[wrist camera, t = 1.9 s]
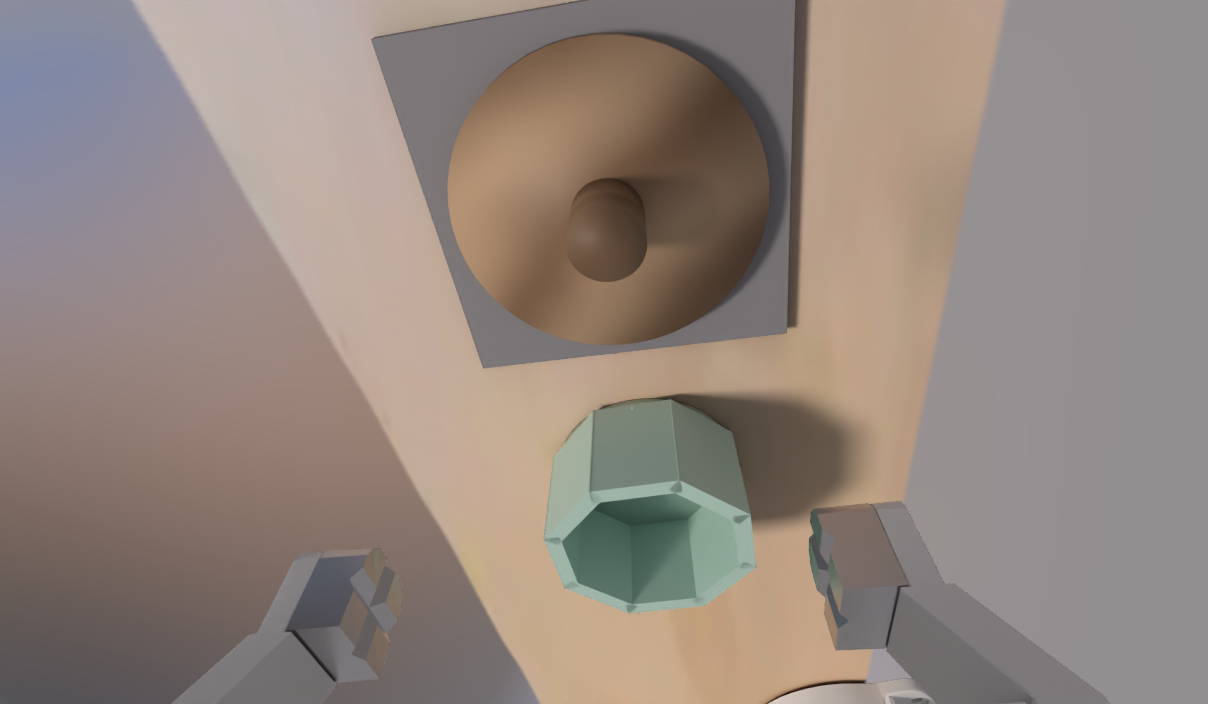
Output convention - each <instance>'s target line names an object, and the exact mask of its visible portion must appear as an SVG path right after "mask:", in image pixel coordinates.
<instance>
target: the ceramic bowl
mask: <svg viewBox="0 0 1208 704" xmlns="http://www.w3.org/2000/svg"><path fill="white" fill-rule="evenodd" d="M544 541H545V543H546V545H547V548H548V550H549V553H550V555H551V557H552V560H553V562H554V564H555V567H556V569H557V572H558V574H559V576H560V579H561V581H562V583H563V586H564V588H565V589H568V590H571V591H573V592H576V593H578V594H581V595H583V596H586V597H589V598H591V599H594V600H596V601H599V602H601V603H604V604H607V605H609V606H612V607H614V608H617V609H619V610H622V611H625V612H627V613H636V612H646V611H656V610H666V609H677V608H687V607H697V606H705V605H706V604H708V603H709V602H710V601H712V600H713V599H714V598H716V597H717V596H718V595H720V594H721V593H722V592H724V591H725V590H727V589H728V588H729V587H731V586H732V585H733V584H735V583H736V582H737V581H739V580H740V579H741V578H743V577H744V576H745V575H747V574H748V573H750V572H751V571H752V570H754V569H755V568H756V562H755V553H754V543H753V533H752V524H751V512H750V508H749V503H748V499H747V495H746V490H745V486H744V481H743V477H742V472H741V468H740V464H739V459H738V455H737V450H736V446H735V441H734V437H733V433H732V432H731V431H729V430H727V429H725V428H724V427H722V426H720V425H719V424H718V423H717V422H716V421H715V420H714V419H712V418H711V417H710V416H708V415H707V414H705V413H704V412H702V411H700V410H698V409H696V408H694V407H691V406H689V405H686V404H682V403H679V402H675V401H673V400H671V399H669V400H662V399H637V400H629V401H624V402H619V403H616V404H613V405H610V406H607V407H605V408H602V409H600V410H593V411H592V413H591V414H590V415H589V416H588V417H586V418H585V419H584V420H583V421H581V422H580V423H579V424H578V425H577V426H576V427H575V428H574V429H573V430H572V432H571V433H570V435H569V436H568V438H567V440H566V442H565V443H564V445H563V446H562V448H561V449H560V450H559V451H558V452H557V453H556V455H555V456H554V457H553V466H552V474H551V482H550V490H549V499H548V507H547V515H546V523H545V532H544Z"/></svg>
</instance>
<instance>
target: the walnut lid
mask: <svg viewBox="0 0 1208 704" xmlns="http://www.w3.org/2000/svg"><path fill="white" fill-rule="evenodd" d="M447 188H448V207H449V213H450V219H451V225H452V228H453V231H454V234H455V238H456V241H457V244H458V246H459V248H460V250H461V253H462V255H463V257H464V259H465V261H466V263H467V264H468V266H469V268H470V269H471V271H472V273H473V274H474V276H475V277H476V279H477V280H478V281H479V282H480V284H481V285H482V286H483V287H484V289H485V290H486V291H487V292H488V293H489V294H490V295H491V296H492V297H493V298H494V299H495V300H496V301H497V302H498V303H499V304H500V305H501V306H503V307H504V308H505V309H506V310H508V311H509V312H510V313H512V314H513V315H514V316H516V317H517V318H519V319H520V320H522V321H524V322H525V323H527V324H529V325H530V326H532V327H534V328H537V329H539V330H541V331H543V332H545V333H547V334H550V335H553V336H556V337H559V338H562V339H566V340H570V341H575V342H579V343H586V344H595V345H623V344H632V343H639V342H643V341H648V340H653V339H656V338H659V337H662V336H665V335H668V334H671V333H673V332H675V331H677V330H679V329H682V328H684V327H686V326H688V325H690V324H691V323H693V322H694V321H696V320H698V319H699V318H701V317H703V316H704V315H705V314H707V313H708V312H709V311H710V310H712V309H713V308H714V307H715V306H717V305H718V304H719V303H720V302H721V301H722V300H723V299H724V298H725V297H726V296H727V295H728V294H729V293H730V292H731V291H732V290H733V288H734V287H735V286H736V285H737V283H738V282H739V281H740V280H741V278H742V277H743V275H744V274H745V272H746V271H747V269H748V267H749V266H750V264H751V262H752V261H753V258H754V256H755V254H756V252H757V249H758V247H759V245H760V243H761V239H762V236H763V232H764V229H765V226H766V221H767V215H768V208H769V175H768V167H767V161H766V157H765V153H764V150H763V146H762V143H761V140H760V137H759V135H758V133H757V131H756V128H755V126H754V124H753V121H752V120H751V118H750V116H749V115H748V113H747V112H746V110H745V108H744V107H743V105H742V104H741V102H740V101H739V99H738V98H737V96H736V95H735V94H734V93H733V92H732V90H731V89H730V88H729V87H728V86H727V85H726V83H725V82H724V81H723V80H722V79H721V78H720V77H719V76H718V75H716V74H715V73H714V72H713V71H712V70H711V69H710V68H708V67H707V66H706V65H705V64H703V63H702V62H700V61H699V60H697V59H696V58H694V57H693V56H691V55H690V54H688V53H686V52H685V51H682V50H680V49H678V48H676V47H674V46H671V45H669V44H667V43H665V42H661V41H658V40H655V39H651V38H648V37H644V36H640V35H632V34H625V33H591V34H584V35H578V36H572V37H568V38H565V39H562V40H559V41H556V42H553V43H549V44H547V45H545V46H543V47H541V48H539V49H537V50H535V51H533V52H531V53H529V54H527V55H525V56H524V57H522V58H521V59H519V60H518V61H517V62H515V63H514V64H512V65H511V66H509V67H508V68H507V69H506V70H505V71H504V72H503V73H501V74H500V75H499V76H498V77H497V78H496V79H495V80H494V81H493V82H492V83H491V84H490V85H489V86H488V88H487V89H486V90H485V91H484V93H483V94H482V95H481V96H480V98H479V99H478V100H477V101H476V103H475V104H474V105H473V107H472V109H471V110H470V112H469V114H468V116H467V117H466V119H465V121H464V122H463V124H462V127H461V129H460V132H459V134H458V137H457V139H456V142H455V144H454V148H453V152H452V156H451V160H450V164H449V174H448V184H447Z"/></svg>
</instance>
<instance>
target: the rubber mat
mask: <svg viewBox="0 0 1208 704" xmlns="http://www.w3.org/2000/svg"><path fill="white" fill-rule="evenodd" d="M794 31H795V0H581V1H575V2H569V3H564V4H558V5H553V6H547V7H541V8H536V9H530V10H525V11H519V12H513V13H508V14H502V15H497V16H491V17H486V18H480V19H474V20H469V21H463V22H458V23H452V24H446V25H441V26H435V27H430V28H424V29H418V30H413V31H407V32H402V33H396V34H390V35H385V36H379V37H375V38H373V39H371V41H372V44H373V47H374V50H375V52H376V55H377V58H378V61H379V64H380V67H381V70H382V73H383V76H384V79H385V82H386V85H387V88H388V91H389V94H390V96H391V99H392V102H393V105H394V108H395V111H396V114H397V117H398V120H399V123H400V126H401V129H402V132H403V135H404V138H405V140H406V143H407V146H408V149H409V152H410V155H411V158H412V161H413V164H414V167H415V170H416V173H417V176H418V179H419V182H420V184H421V187H422V190H423V193H424V196H425V199H426V202H427V205H428V208H429V211H430V214H431V217H432V220H433V223H434V226H435V228H436V231H437V234H438V237H439V240H440V243H441V246H442V249H443V252H444V255H445V258H446V261H447V264H448V267H449V270H450V273H451V275H452V278H453V281H454V284H455V287H456V290H457V293H458V296H459V299H460V302H461V305H462V308H463V311H464V314H465V317H466V319H467V322H468V325H469V328H470V331H471V334H472V337H473V340H474V343H475V346H476V349H477V352H478V355H479V358H480V361H481V363H482V366H483V368H490V367H499V366H507V365H516V364H525V363H533V362H542V361H551V360H559V359H568V358H577V357H585V356H594V355H603V354H611V353H620V352H629V351H637V350H646V349H655V348H663V347H672V346H681V345H689V344H698V343H707V342H715V341H724V340H733V339H741V338H750V337H759V336H767V335H776V334H785V333H787V306H788V267H789V228H790V188H791V149H792V110H793V71H794ZM591 33H625V34H632V35H640V36H644V37H648V38H651V39H655V40H658V41H661V42H665V43H667V44H669V45H671V46H674V47H676V48H678V49H680V50H682V51H685V52H686V53H688V54H690V55H691V56H693V57H694V58H696V59H697V60H699V61H700V62H702V63H703V64H705V65H706V66H707V67H708V68H710V69H711V70H712V71H713V72H714V73H715V74H716V75H718V76H719V77H720V78H721V79H722V80H723V81H724V82H725V83H726V85H727V86H728V87H729V88H730V89H731V90H732V92H733V93H734V94H735V95H736V96H737V98H738V99H739V101H740V102H741V104H742V105H743V107H744V108H745V110H746V112H747V113H748V115H749V116H750V118H751V120H752V121H753V124H754V126H755V128H756V131H757V133H758V135H759V137H760V140H761V143H762V146H763V150H764V153H765V157H766V161H767V167H768V175H769V208H768V215H767V221H766V226H765V229H764V232H763V236H762V239H761V243H760V245H759V247H758V249H757V252H756V254H755V256H754V258H753V261H752V262H751V264H750V266H749V267H748V269H747V271H746V272H745V274H744V275H743V277H742V278H741V280H740V281H739V282H738V283H737V285H736V286H735V287H734V288H733V290H732V291H731V292H730V293H729V294H728V295H727V296H726V297H725V298H724V299H723V300H722V301H721V302H720V303H719V304H718V305H717V306H715V307H714V308H713V309H712V310H710V311H709V312H708V313H707V314H705V315H704V316H703V317H701V318H699V319H698V320H696V321H694V322H693V323H691V324H690V325H688V326H686V327H684V328H682V329H679V330H677V331H675V332H673V333H671V334H668V335H665V336H662V337H659V338H656V339H653V340H648V341H643V342H639V343H632V344H623V345H595V344H586V343H579V342H575V341H570V340H566V339H562V338H559V337H556V336H553V335H550V334H547V333H545V332H543V331H541V330H539V329H537V328H534V327H532V326H530V325H529V324H527V323H525V322H524V321H522V320H520V319H519V318H517V317H516V316H514V315H513V314H512V313H510V312H509V311H508V310H506V309H505V308H504V307H503V306H501V305H500V304H499V303H498V302H497V301H496V300H495V299H494V298H493V297H492V296H491V295H490V294H489V293H488V292H487V291H486V290H485V289H484V287H483V286H482V285H481V284H480V282H479V281H478V280H477V279H476V277H475V276H474V274H473V273H472V271H471V269H470V268H469V266H468V264H467V263H466V261H465V259H464V257H463V255H462V253H461V250H460V248H459V246H458V244H457V241H456V238H455V234H454V231H453V228H452V225H451V219H450V213H449V207H448V188H447V184H448V174H449V164H450V160H451V156H452V152H453V148H454V144H455V142H456V139H457V137H458V134H459V132H460V129H461V127H462V124H463V122H464V121H465V119H466V117H467V116H468V114H469V112H470V110H471V109H472V107H473V105H474V104H475V103H476V101H477V100H478V99H479V98H480V96H481V95H482V94H483V93H484V91H485V90H486V89H487V88H488V86H489V85H490V84H491V83H492V82H493V81H494V80H495V79H496V78H497V77H498V76H499V75H500V74H501V73H503V72H504V71H505V70H506V69H507V68H508V67H509V66H511V65H512V64H514V63H515V62H517V61H518V60H519V59H521V58H522V57H524V56H525V55H527V54H529V53H531V52H533V51H535V50H537V49H539V48H541V47H543V46H545V45H547V44H549V43H553V42H556V41H559V40H562V39H565V38H568V37H572V36H578V35H584V34H591Z"/></svg>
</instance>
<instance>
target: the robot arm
mask: <svg viewBox="0 0 1208 704" xmlns="http://www.w3.org/2000/svg"><path fill="white" fill-rule="evenodd" d="M810 523H811V526H812V529H813V533H814V534H813V535H812V536H811V537H810V538H809V555H810V564H811V569H812V573H813V577H814V581H815V584H816V588H817V590H818V591H819V592H820V593H821V594H822V595H823V596H824V597H826V598H825V610H824V615H825V618H826V621H827V624H828V628H829V631H830V634H831V637H832V641H833V644H834V647H835V650H856V649H884V648H887V652H888V653H889V654H890V655H891V656H892V657H893V658H894V659H895V660H896V661H897V663H899V664H900V666H901V667H902V668H903V669H904V670H905V671H906V672H907V673H908V674H909V675H910V676H911V677H912V678H904V679H897V680H891V681H885V682H880V683H871V684H833V685H824V686H818V687H813V688H808V689H804V690H800V691H796V692H793V693H790V694H787V695H785V696H782V697H780V698H778V699H776V700H774V701H772V702H770V703H768V704H1110V703H1109V702H1108V700H1107V699H1106V697H1105V696H1104V695H1103V694H1102V693H1100V692H1099V691H1097V690H1096V689H1095V688H1094V687H1092V686H1091V685H1090V684H1088V683H1087V682H1086V681H1084V680H1083V679H1081V678H1080V677H1079V676H1077V675H1076V674H1075V673H1073V672H1072V671H1071V670H1069V669H1068V668H1067V667H1065V666H1064V665H1063V664H1061V663H1060V662H1059V661H1057V660H1056V659H1055V658H1053V657H1052V656H1051V655H1049V654H1048V653H1047V652H1045V651H1044V650H1043V649H1041V648H1040V647H1039V646H1037V645H1036V644H1035V643H1033V642H1032V641H1031V640H1029V639H1028V638H1027V637H1025V636H1024V635H1023V634H1021V633H1020V632H1018V631H1017V630H1016V629H1014V628H1013V627H1012V626H1010V625H1009V624H1008V623H1006V622H1005V621H1004V620H1002V619H1001V618H1000V617H998V616H997V615H996V614H994V613H993V612H992V611H990V610H989V609H988V608H986V607H985V606H984V605H982V604H981V603H980V602H978V601H977V600H975V599H974V598H973V597H972V596H970V595H969V594H967V593H966V592H965V591H964V590H962V589H961V588H959V587H958V586H957V585H956V584H954V583H953V584H945V583H944V581H943V579H942V577H941V575H940V573H939V571H938V569H937V567H936V565H935V563H934V561H933V559H932V557H931V556H930V553H929V552H928V549H927V547H926V546H925V543H924V542H923V540H922V537H921V536H920V533H919V531H918V529H917V528H916V525H915V523H914V522H913V520H912V518H911V516H910V514H909V512H908V510H907V508H906V506H905V505H904V504H903V503H902V502H901V501H895V502H884V503H874V504H868V503H866V504H856V505H846V506H836V507H826V508H817V509H813V510H812V512H811V518H810ZM386 560H387V557H386V556H385V554H384V553H383V551H382V550H381V548H369V549H354V550H338V551H321V552H309V553H302V554H301V555H300V556H299V557H298V558H297V559H296V560H295V561H294V562H293V564H292V566H291V568H290V570H289V572H288V574H287V576H286V578H285V580H284V582H283V584H282V586H281V588H280V590H279V591H278V594H277V595H276V597H275V599H274V602H273V603H272V605H271V607H270V609H269V611H268V613H267V615H266V617H265V619H264V621H263V623H262V625H261V627H260V629H259V630H258V633H257V634H250V635H248V636H247V637H246V638H245V639H244V640H243V641H242V642H241V643H239V645H237V646H236V647H235V648H234V649H233V650H232V651H230V652H229V653H228V654H227V655H226V656H225V657H224V658H223V659H222V660H221V661H219V662H218V663H217V664H216V665H215V666H214V667H213V668H211V669H210V670H209V671H208V672H207V673H206V674H205V675H203V677H201V678H200V679H199V680H198V681H197V682H196V683H194V684H193V685H192V686H191V687H190V688H189V689H188V690H187V691H185V692H184V693H183V694H182V695H181V696H180V697H179V698H178V699H176V700H175V701H174V702H173V703H172V704H322V703H323V702H324V701H325V699H326V698H327V697H328V695H329V694H330V693H331V692H332V691H333V689H334V688H335V687H336V683H339V682H349V681H360V680H371V679H379V677H380V674H381V671H382V668H383V665H384V662H385V659H386V655H387V652H388V649H389V646H390V642H389V639H388V636H387V634H386V632H387V631H388V630H389V629H390V628H391V627H392V626H393V625H394V624H395V623H396V622H397V621H398V617H399V614H400V610H401V607H402V592H403V590H402V586H401V581H400V579H399V577H398V575H397V573H396V572H395V571H393V570H391V569H389V568H388V567H386V566H385V563H386Z"/></svg>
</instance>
